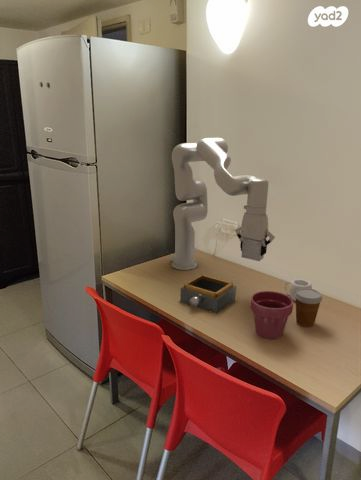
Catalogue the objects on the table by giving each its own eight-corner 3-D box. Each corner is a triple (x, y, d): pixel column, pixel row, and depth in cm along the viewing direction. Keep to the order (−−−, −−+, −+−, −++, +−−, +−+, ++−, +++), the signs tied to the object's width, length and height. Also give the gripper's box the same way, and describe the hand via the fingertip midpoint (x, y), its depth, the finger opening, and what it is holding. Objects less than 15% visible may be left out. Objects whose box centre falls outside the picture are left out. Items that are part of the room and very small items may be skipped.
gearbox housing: (175, 304, 156) (175, 287, 154) (200, 289, 171) (201, 273, 168) (211, 317, 147) (212, 299, 145) (235, 299, 161) (236, 282, 159)
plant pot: (260, 318, 147) (263, 286, 143) (296, 330, 139) (300, 297, 135) (240, 333, 136) (243, 300, 133) (278, 348, 128) (281, 313, 124)
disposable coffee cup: (288, 325, 142) (292, 295, 138) (294, 314, 150) (298, 285, 146) (316, 332, 138) (320, 301, 134) (320, 320, 146) (324, 290, 142)
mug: (314, 300, 161) (316, 283, 159) (302, 306, 156) (304, 288, 154) (290, 290, 170) (292, 274, 168) (277, 295, 165) (279, 278, 163)
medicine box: (263, 258, 159) (265, 238, 157) (259, 261, 156) (261, 241, 153) (245, 254, 163) (247, 234, 161) (241, 257, 160) (242, 237, 157)
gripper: (231, 208, 155) (229, 250, 161) (273, 215, 146) (269, 259, 151) (240, 205, 161) (238, 245, 166) (281, 212, 151) (276, 254, 157)
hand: (252, 252), depth 159 cm, fingers closed on medicine box, 8 cm apart
